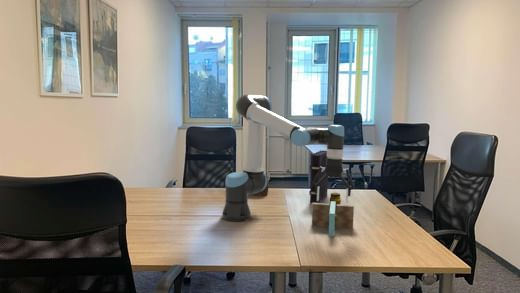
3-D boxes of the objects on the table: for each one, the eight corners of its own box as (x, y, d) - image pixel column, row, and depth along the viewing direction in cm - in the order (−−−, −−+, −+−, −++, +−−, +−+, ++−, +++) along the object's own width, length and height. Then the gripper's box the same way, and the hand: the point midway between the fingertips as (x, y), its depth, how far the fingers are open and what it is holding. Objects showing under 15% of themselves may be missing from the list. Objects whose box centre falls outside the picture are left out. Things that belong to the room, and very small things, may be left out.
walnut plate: (311, 225, 191) (312, 203, 190) (312, 223, 193) (312, 202, 192) (352, 228, 187) (353, 206, 186) (352, 227, 189) (353, 205, 188)
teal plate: (330, 222, 194) (330, 201, 193) (334, 222, 194) (335, 201, 192) (328, 236, 175) (329, 213, 173) (333, 237, 175) (334, 213, 173)
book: (318, 194, 258) (320, 150, 254) (327, 195, 255) (329, 150, 252) (309, 202, 236) (310, 154, 233) (319, 203, 234) (320, 155, 230)
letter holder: (267, 195, 253) (267, 174, 251) (237, 194, 254) (237, 173, 253) (268, 192, 262) (268, 172, 261) (239, 191, 264) (239, 171, 263)
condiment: (343, 215, 209) (344, 194, 208) (332, 218, 204) (333, 196, 203) (334, 212, 215) (334, 191, 214) (322, 214, 210) (323, 193, 209)
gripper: (307, 157, 179) (305, 201, 182) (362, 160, 174) (359, 205, 177) (308, 155, 187) (306, 197, 189) (361, 158, 181) (358, 201, 184)
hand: (332, 201), depth 183 cm, fingers open, 13 cm apart
